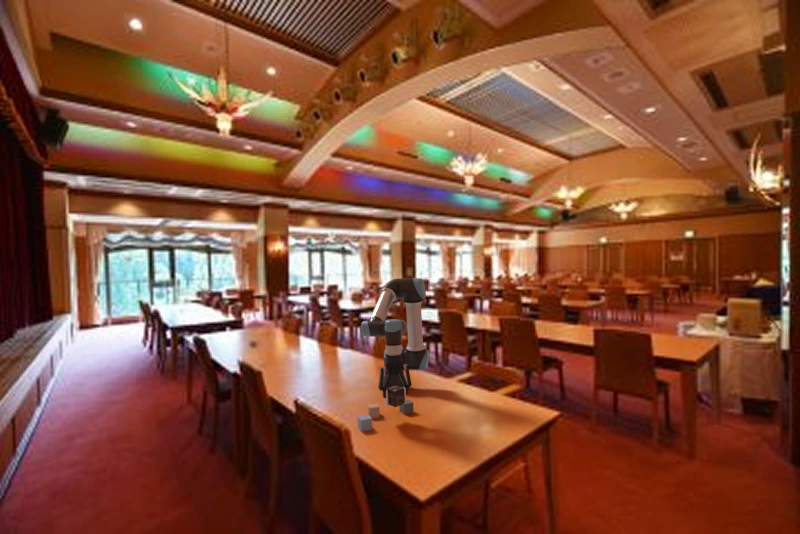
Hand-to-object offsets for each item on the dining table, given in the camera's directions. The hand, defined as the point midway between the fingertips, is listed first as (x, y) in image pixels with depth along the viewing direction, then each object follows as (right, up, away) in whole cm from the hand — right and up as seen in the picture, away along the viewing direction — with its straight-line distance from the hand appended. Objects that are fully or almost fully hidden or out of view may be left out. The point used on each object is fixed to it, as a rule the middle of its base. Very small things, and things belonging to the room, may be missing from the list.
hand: (395, 403), depth 174 cm
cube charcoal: (+5, -8, +10) cm, 14 cm away
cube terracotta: (-10, -9, +7) cm, 15 cm away
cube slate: (-13, -8, -8) cm, 18 cm away
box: (0, -1, 0) cm, 1 cm away
